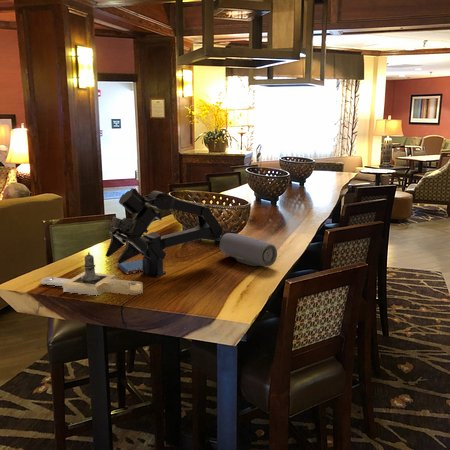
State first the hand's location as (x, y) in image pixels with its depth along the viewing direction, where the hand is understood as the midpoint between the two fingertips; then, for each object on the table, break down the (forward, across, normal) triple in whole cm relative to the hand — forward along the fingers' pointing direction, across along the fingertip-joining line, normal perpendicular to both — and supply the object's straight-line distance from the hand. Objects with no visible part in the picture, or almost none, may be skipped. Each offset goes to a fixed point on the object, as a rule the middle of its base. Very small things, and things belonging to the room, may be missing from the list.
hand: (112, 259), depth 161 cm
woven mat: (-3, -10, +15) cm, 18 cm away
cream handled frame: (+14, -5, -3) cm, 15 cm away
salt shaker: (+11, 0, 0) cm, 11 cm away
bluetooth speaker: (-29, +9, +41) cm, 51 cm away
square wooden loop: (+9, +5, +3) cm, 10 cm away
